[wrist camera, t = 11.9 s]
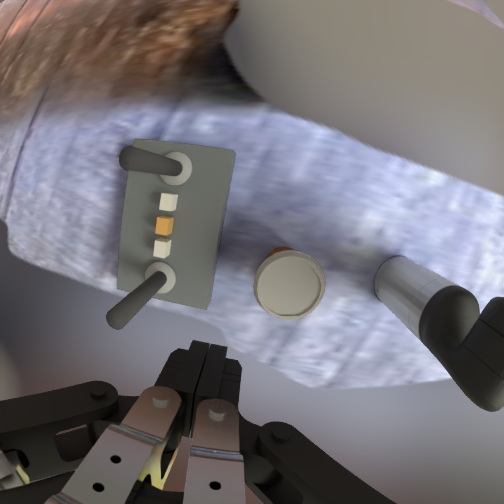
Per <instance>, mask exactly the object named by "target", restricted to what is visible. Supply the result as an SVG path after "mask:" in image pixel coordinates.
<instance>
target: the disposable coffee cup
mask: <svg viewBox="0 0 504 504" xmlns="http://www.w3.org/2000/svg"><path fill="white" fill-rule="evenodd" d="M253 288H254V294H255V297H256V300H257V302H258V303H259V305H260V307H262V308H263V309H264V310H265V311H266V312H267V313H269V314H270V315H272V316H274V317H277V318H280V319H285V320H293V319H298V318H302V317H304V316H306V315H308V314H309V313H311V312H312V311H313V310H314V309H315V308H316V307H317V305H318V304H319V303H320V301H321V299H322V297H323V295H324V291H325V276H324V273H323V270H322V268H321V266H320V265H319V264H318V262H317V261H316V260H315V259H314V258H312V257H311V256H310V255H308V254H306V253H303V252H300V251H295V250H293V249H291V248H287V247H281V248H277V249H275V250H273V251H272V252H271V253H270V254H269V255H268V256H267V258H266V260H265V261H264V262H263V263H262V264H261V265H260V267H259V268H258V270H257V272H256V275H255V278H254V285H253Z"/></svg>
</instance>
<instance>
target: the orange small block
mask: <svg viewBox="0 0 504 504" xmlns="http://www.w3.org/2000/svg"><path fill="white" fill-rule="evenodd" d="M173 221H174V217H168V216H160V217H157V224H156V231H155V233H156V234H161V235H166V236H167V235H169V234H171V233H172V228H173Z"/></svg>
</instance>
